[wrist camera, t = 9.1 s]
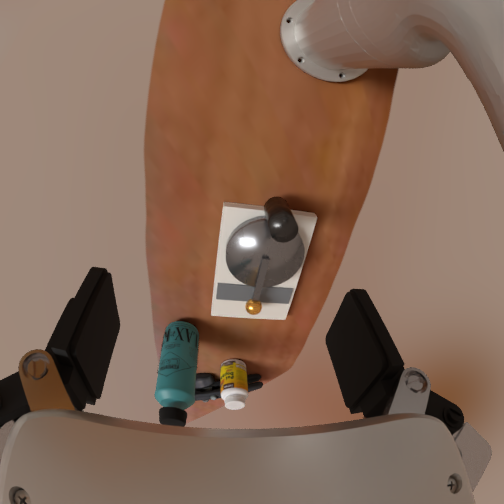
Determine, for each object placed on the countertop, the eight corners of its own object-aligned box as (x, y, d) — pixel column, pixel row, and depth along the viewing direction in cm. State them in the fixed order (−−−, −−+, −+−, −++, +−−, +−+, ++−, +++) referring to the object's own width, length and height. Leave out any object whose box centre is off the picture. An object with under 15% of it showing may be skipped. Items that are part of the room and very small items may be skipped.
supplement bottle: (232, 354, 57) (235, 396, 48) (251, 364, 59) (255, 404, 50) (214, 365, 58) (215, 406, 50) (233, 374, 61) (235, 413, 52)
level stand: (223, 201, 39) (223, 207, 37) (314, 213, 41) (318, 218, 39) (211, 309, 49) (211, 317, 48) (284, 313, 51) (285, 321, 50)
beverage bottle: (207, 329, 52) (205, 427, 35) (180, 341, 53) (172, 434, 37) (184, 308, 49) (173, 412, 32) (157, 322, 50) (141, 419, 33)
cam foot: (235, 188, 36) (237, 210, 30) (317, 201, 38) (333, 224, 32) (217, 300, 46) (217, 331, 40) (283, 306, 48) (290, 336, 42)
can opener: (189, 387, 63) (188, 406, 59) (182, 372, 60) (181, 392, 55) (262, 382, 64) (264, 401, 59) (261, 366, 60) (263, 387, 56)
